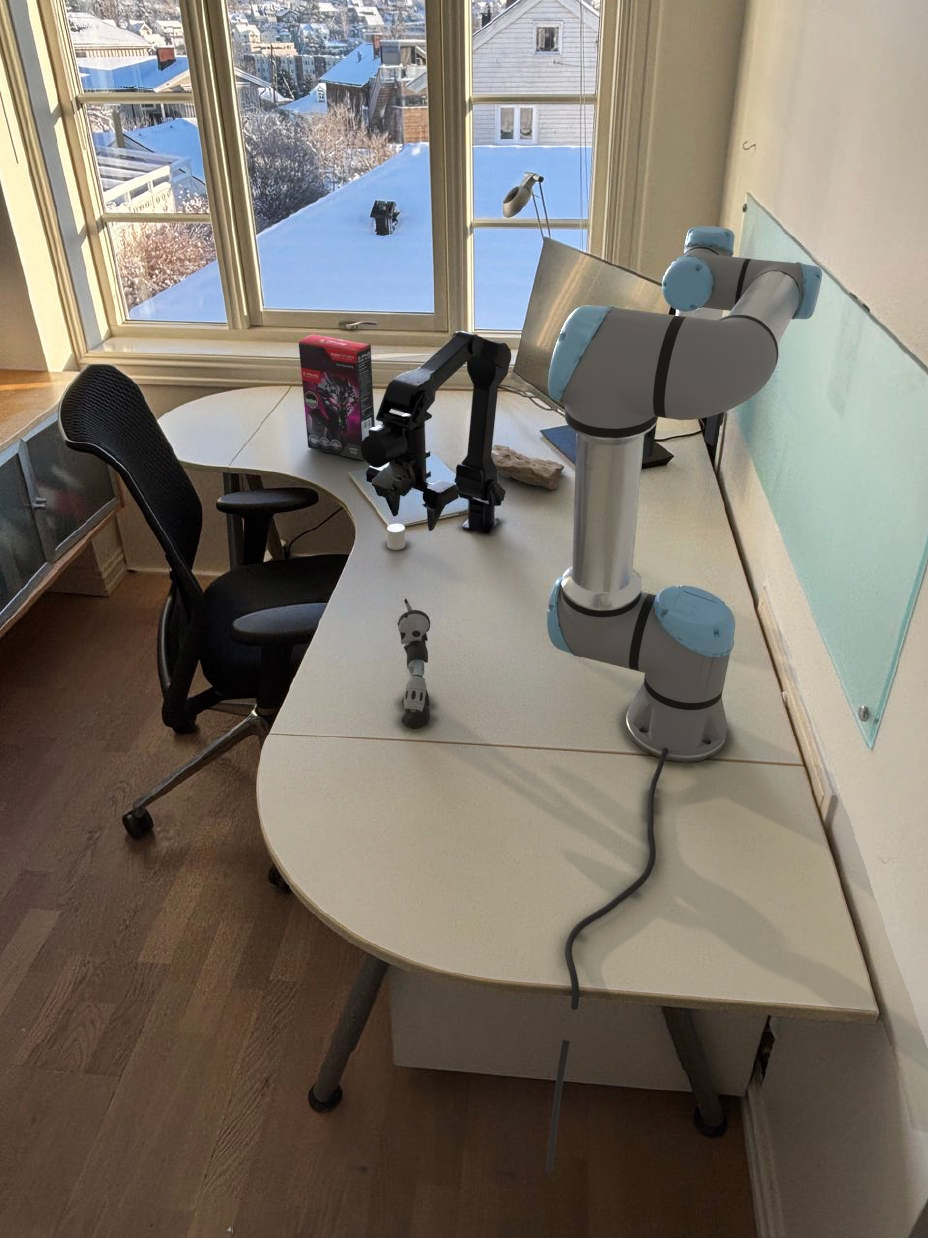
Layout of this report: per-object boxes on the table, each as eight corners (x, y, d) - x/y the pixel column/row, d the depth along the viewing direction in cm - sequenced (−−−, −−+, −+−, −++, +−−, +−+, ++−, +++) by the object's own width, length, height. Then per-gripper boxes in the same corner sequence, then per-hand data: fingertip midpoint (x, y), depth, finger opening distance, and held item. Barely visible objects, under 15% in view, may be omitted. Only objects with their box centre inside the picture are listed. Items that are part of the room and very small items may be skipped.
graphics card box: (305, 448, 231) (295, 340, 216) (321, 439, 236) (312, 332, 221) (363, 462, 225) (356, 351, 209) (378, 452, 230) (373, 343, 215)
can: (408, 546, 191) (408, 528, 188) (393, 551, 189) (393, 533, 187) (399, 539, 193) (398, 521, 191) (384, 544, 191) (383, 526, 189)
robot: (432, 752, 138) (431, 644, 127) (400, 753, 138) (395, 645, 127) (430, 673, 154) (428, 571, 143) (401, 674, 154) (397, 571, 143)
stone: (462, 471, 213) (468, 446, 211) (478, 460, 226) (484, 436, 224) (548, 498, 210) (555, 473, 207) (560, 485, 223) (567, 461, 221)
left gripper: (342, 448, 168) (348, 524, 177) (419, 477, 158) (422, 555, 167) (384, 429, 175) (388, 502, 184) (460, 455, 165) (460, 531, 174)
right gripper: (743, 315, 160) (722, 431, 171) (620, 329, 151) (607, 450, 163) (771, 326, 154) (748, 446, 165) (645, 341, 145) (630, 466, 157)
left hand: (413, 522), depth 177 cm, fingers open, 9 cm apart
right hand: (678, 448), depth 164 cm, fingers open, 13 cm apart
